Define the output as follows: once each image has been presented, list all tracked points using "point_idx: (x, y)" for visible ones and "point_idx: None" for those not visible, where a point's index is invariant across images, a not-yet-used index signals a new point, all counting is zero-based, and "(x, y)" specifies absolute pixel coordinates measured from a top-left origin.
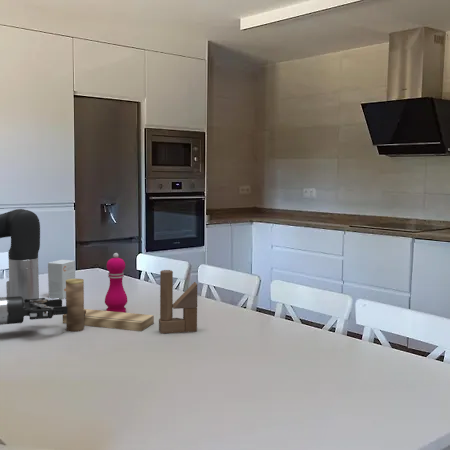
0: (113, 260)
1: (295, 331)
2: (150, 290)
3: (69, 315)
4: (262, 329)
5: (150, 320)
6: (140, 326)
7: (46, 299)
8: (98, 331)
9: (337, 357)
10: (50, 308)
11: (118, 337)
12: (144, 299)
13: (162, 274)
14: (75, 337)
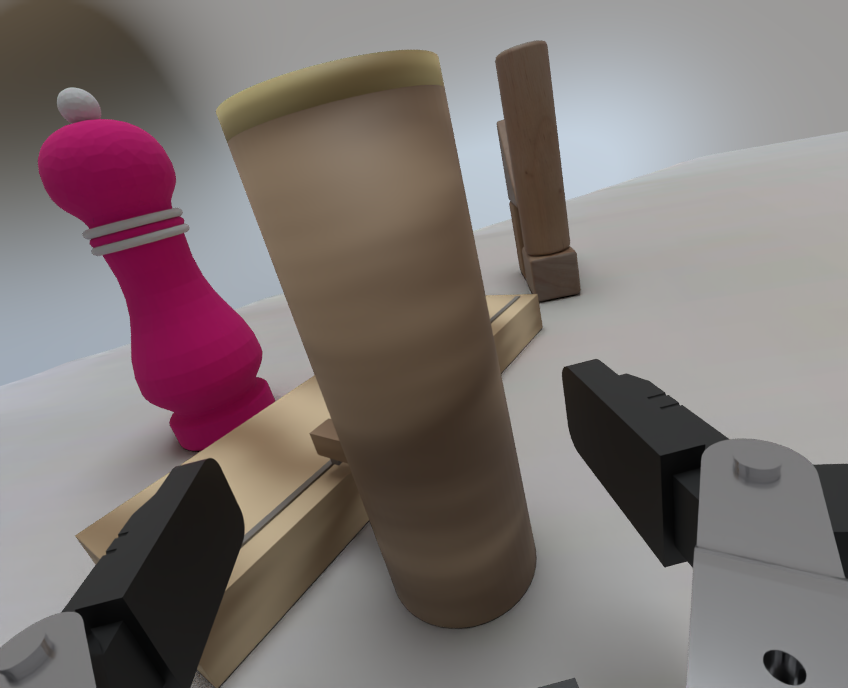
0: (109, 124)
1: None
2: (22, 393)
3: (500, 470)
4: None
5: None
6: (538, 311)
7: (43, 645)
8: (535, 432)
9: (713, 174)
10: (816, 478)
11: (651, 357)
12: (111, 388)
13: (541, 53)
14: None
